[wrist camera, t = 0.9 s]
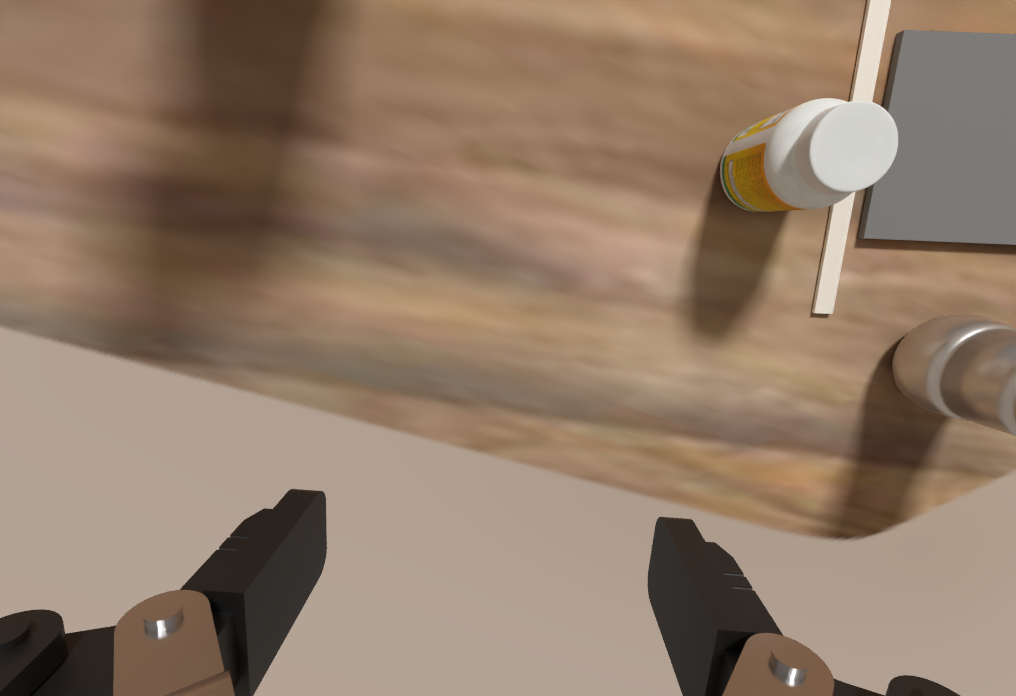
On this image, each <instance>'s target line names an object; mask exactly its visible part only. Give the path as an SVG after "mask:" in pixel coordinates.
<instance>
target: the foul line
mask: <svg viewBox="0 0 1016 696" xmlns="http://www.w3.org/2000/svg"><path fill="white" fill-rule="evenodd" d="M890 3H891V0H867V5H866V11H865V16H864V22H863V28H862V33H861V39H860V45H859V50H858V56H857V61H856V67H855V73H854V78H853V84H852V90H851V95H850V101H849V102H851V101H869V102H872V100H873V94H874V89H875V84H876V78H877V73H878V68H879V62H880V57H881V51H882V46H883V41H884V35H885V30H886V25H887V19H888V14H889V9H890ZM854 196H855V192H853V193H852V194H850V195H849V196H848V197H846V198H845V199H843V200H842V201H840V202H838V203H836V204H833V205H831V208H830V213H829V219H828V225H827V230H826V236H825V242H824V247H823V253H822V258H821V264H820V270H819V275H818V281H817V287H816V292H815V298H814V303H813V309H812V313H823V314H833V308H834V303H835V297H836V292H837V287H838V281H839V276H840V271H841V265H842V260H843V255H844V249H845V244H846V239H847V233H848V228H849V223H850V217H851V212H852V207H853V201H854Z"/></svg>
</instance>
